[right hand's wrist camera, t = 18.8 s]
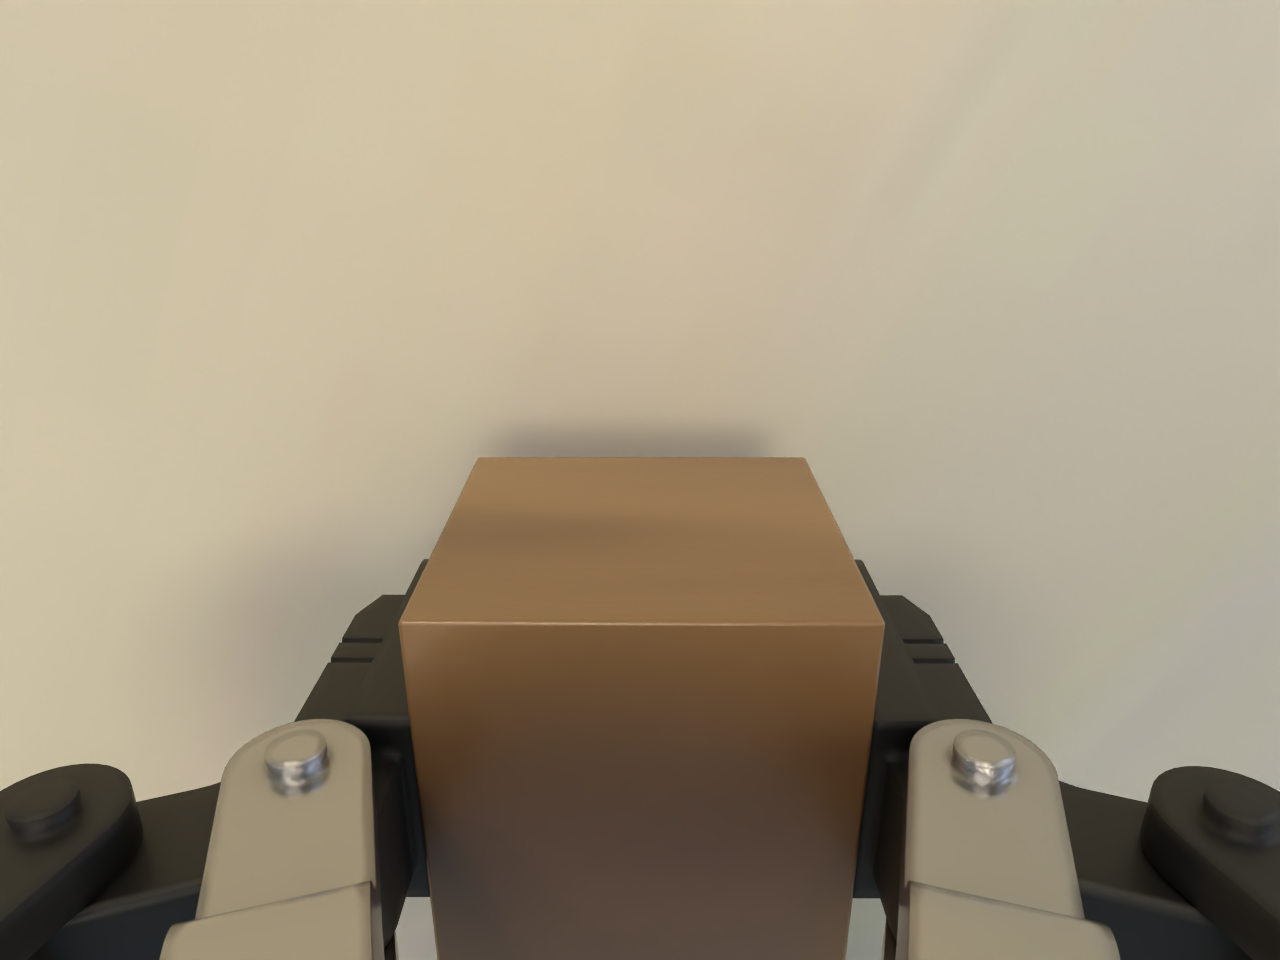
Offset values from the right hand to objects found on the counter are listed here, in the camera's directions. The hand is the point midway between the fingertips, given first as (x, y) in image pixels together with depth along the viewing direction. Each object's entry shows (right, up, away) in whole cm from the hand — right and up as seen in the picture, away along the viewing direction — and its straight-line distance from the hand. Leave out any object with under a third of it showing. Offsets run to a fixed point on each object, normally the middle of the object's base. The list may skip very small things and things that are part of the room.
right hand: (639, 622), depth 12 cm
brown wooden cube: (0, 0, 0) cm, 0 cm away
